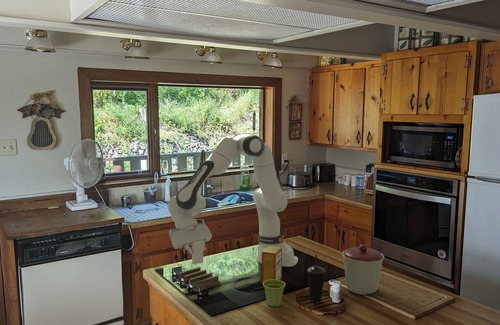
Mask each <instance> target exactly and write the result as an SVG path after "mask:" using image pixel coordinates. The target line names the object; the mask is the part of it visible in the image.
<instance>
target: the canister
mask: <svg viewBox="0 0 500 325" xmlns="http://www.w3.org/2000/svg"><path fill="white" fill-rule="evenodd" d="M341 255H342V257H343V264H344V277H345V284H346V287H347V289H348V290H349V291H350V292H352V293H354V294H357V295H362V296H368V295H367V294H369V295H373V294H374V292H375V293H376V292H377V290H378V289H379V284H380V278H381V274H382V266H383V261H384V259H385V256H384V254H383V253H382V252H380V251H379V250H376V249H373V248H371V247H368V246H367V245H366V244H362V243H361V244H359V246H355V247H349V248H347V249H345V250H343V251H342V253H341ZM372 293H373V294H372Z"/></svg>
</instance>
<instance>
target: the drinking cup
mask: <svg viewBox="0 0 500 325" xmlns="http://www.w3.org/2000/svg"><path fill="white" fill-rule="evenodd" d="M314 259H315V264H314V265H313V266H309V267H307V268H306V271H307V272H306V273H307V281H308V282H307V283H308V293H309V294H308V295H309V301H310V300H311V301H313V302H320V301H321V302H322V300H323V299H322V298H323V297H322V296H323V290H324V289H323V288H324V280H325V273H326V269H325V268H324V267H321V266H318V254H315V258H314ZM321 302H320V303H321Z"/></svg>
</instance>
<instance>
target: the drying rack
mask: <svg viewBox="0 0 500 325" xmlns="http://www.w3.org/2000/svg"><path fill="white" fill-rule="evenodd" d="M177 276H178V277H177V279H176V280H175V282H176V281H178V282H181V280H180V279H181V278H182V277H184V282H181V283H182V284H184V285H185V286H187V287H189V285H188V283H187V282H188V281H189V280H190V284H192V283H194V282H195V283H196V288H192V289H193V290H194V291H195V292H197V291H198V289H199V288H201V287H207V288H210V289H212V288H211V287H213V288H215V287H214V286H216V287H218V285H219V286H221V283H222V281H219V275H217V274H216V275H213V272H212V271H210V272H208V273H207V269H203V270H202V269H201V266H197V267H194V268H191V269H190V268H189V269H186V270H184V271H181V272H177Z"/></svg>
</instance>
